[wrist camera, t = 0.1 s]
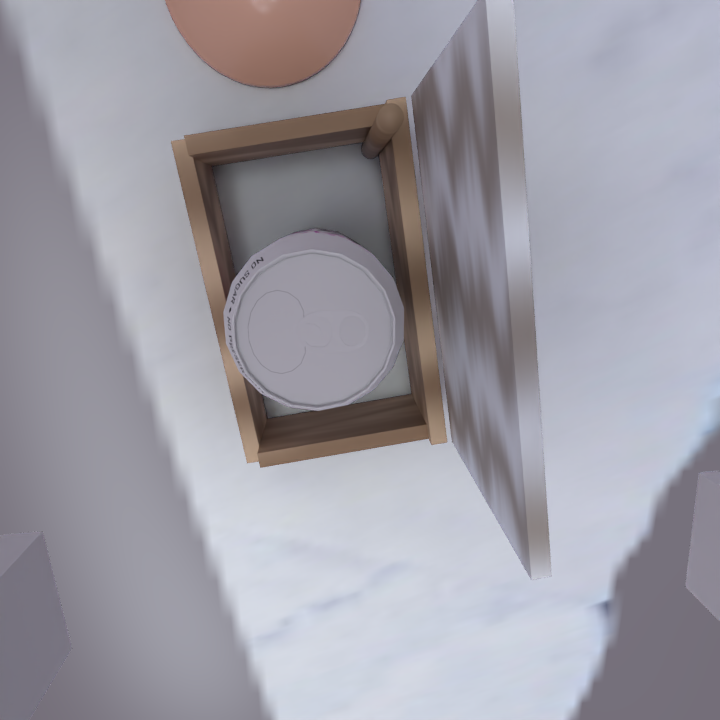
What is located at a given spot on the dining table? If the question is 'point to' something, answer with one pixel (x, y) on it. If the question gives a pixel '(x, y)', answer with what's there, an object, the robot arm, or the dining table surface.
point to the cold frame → (421, 275)
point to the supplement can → (314, 320)
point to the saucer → (265, 36)
